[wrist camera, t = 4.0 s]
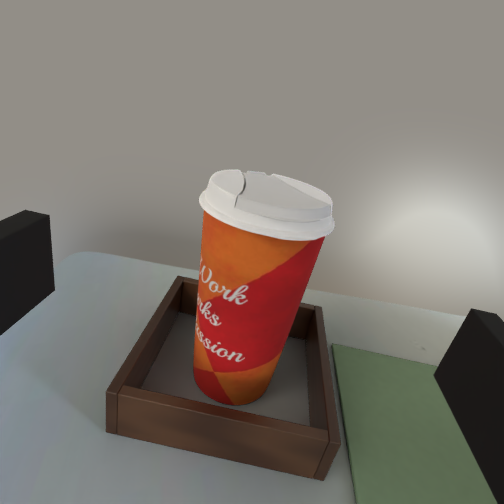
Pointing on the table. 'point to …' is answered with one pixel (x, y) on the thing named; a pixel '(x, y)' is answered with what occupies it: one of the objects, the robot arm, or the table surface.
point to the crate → (224, 419)
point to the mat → (403, 434)
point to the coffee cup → (252, 277)
